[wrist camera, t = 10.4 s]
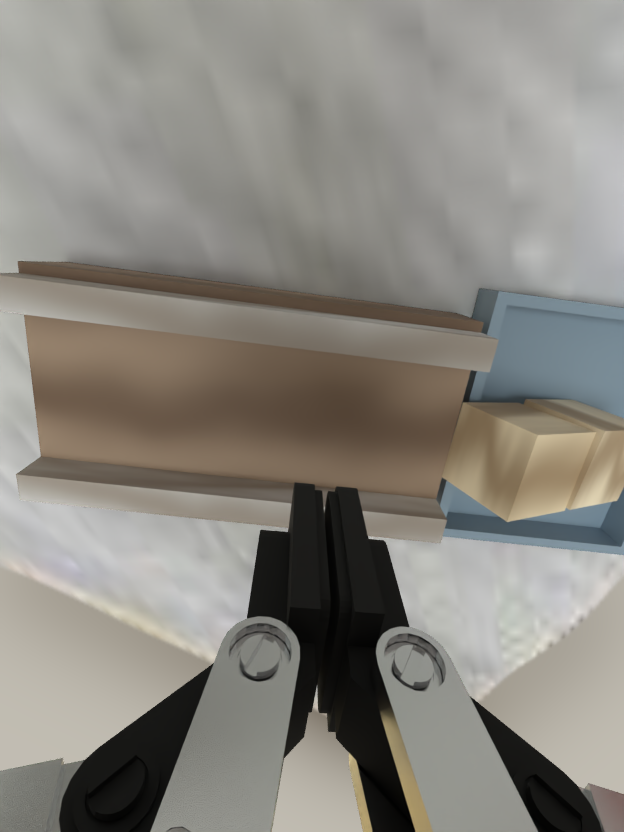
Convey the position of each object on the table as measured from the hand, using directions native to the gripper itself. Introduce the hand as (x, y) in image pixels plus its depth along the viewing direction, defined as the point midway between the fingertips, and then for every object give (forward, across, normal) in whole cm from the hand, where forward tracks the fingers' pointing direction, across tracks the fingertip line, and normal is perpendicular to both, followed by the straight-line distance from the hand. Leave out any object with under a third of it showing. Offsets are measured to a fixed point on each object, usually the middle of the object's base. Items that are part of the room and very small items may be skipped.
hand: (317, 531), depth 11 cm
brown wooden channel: (+15, +3, +2) cm, 15 cm away
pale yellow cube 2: (+10, -13, +2) cm, 17 cm away
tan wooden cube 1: (+12, -10, +2) cm, 15 cm away
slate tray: (+14, -15, +2) cm, 21 cm away
